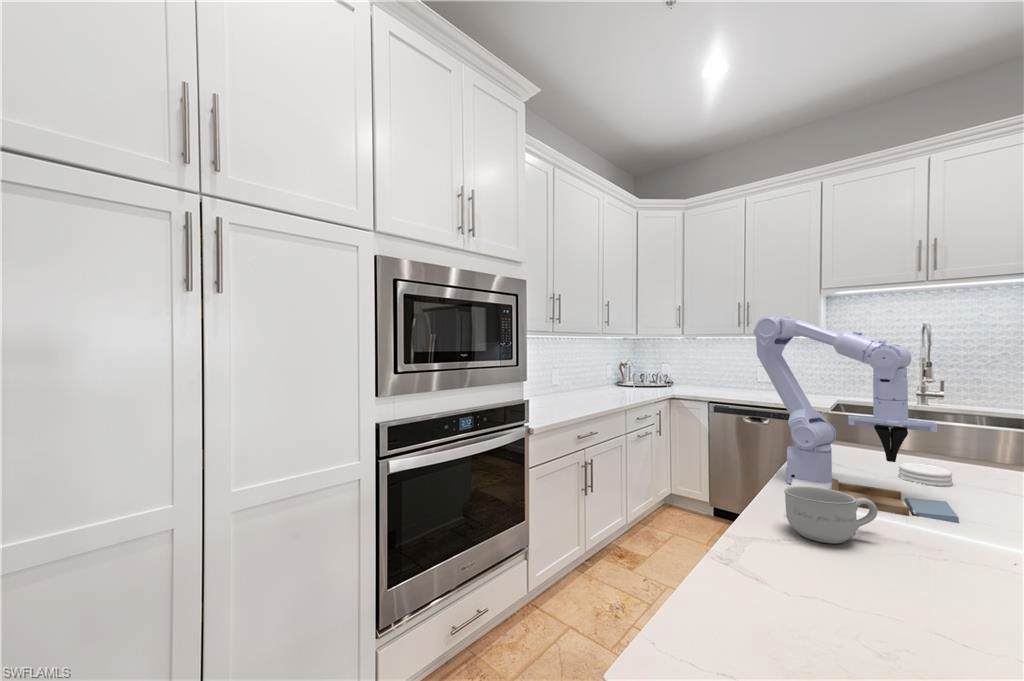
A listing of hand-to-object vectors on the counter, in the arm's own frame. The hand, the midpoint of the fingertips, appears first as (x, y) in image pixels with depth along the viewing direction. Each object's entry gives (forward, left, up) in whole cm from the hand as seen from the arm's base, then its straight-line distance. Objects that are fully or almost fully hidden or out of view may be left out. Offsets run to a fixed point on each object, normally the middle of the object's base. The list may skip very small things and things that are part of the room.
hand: (890, 460), depth 93 cm
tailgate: (+3, -6, -8) cm, 10 cm away
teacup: (-11, -29, -10) cm, 32 cm away
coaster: (+9, +27, -10) cm, 30 cm away
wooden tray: (-4, -6, -9) cm, 12 cm away
